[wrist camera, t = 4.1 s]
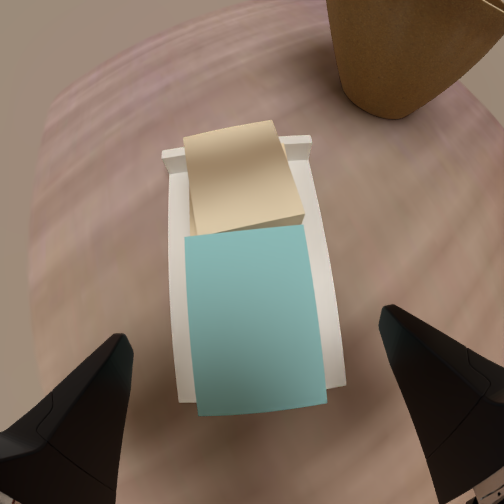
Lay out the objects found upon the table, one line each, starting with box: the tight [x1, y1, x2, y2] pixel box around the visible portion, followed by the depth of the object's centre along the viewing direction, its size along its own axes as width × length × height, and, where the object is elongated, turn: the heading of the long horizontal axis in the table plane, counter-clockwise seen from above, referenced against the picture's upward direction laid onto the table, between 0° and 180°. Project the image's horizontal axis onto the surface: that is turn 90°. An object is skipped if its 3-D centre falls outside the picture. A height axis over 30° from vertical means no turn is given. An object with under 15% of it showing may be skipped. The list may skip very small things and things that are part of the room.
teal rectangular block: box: [184, 224, 327, 416], centre depth 12 cm, size 5×3×10 cm
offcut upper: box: [183, 120, 305, 235], centre depth 15 cm, size 6×5×2 cm
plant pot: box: [326, 0, 504, 119], centre depth 16 cm, size 15×15×16 cm
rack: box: [162, 135, 346, 403], centre depth 17 cm, size 16×10×3 cm, turn 6°
